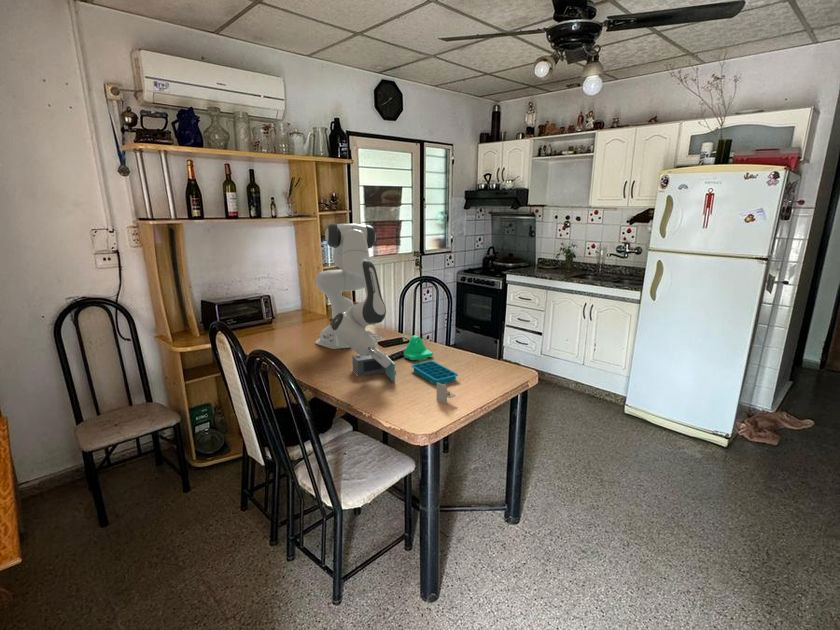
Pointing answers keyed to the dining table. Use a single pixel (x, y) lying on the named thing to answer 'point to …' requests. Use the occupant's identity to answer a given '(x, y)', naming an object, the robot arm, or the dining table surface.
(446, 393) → the architectural model
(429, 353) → the camera mount
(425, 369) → the ice cube tray
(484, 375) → the dining table surface
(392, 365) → the side door
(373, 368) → the action camera
